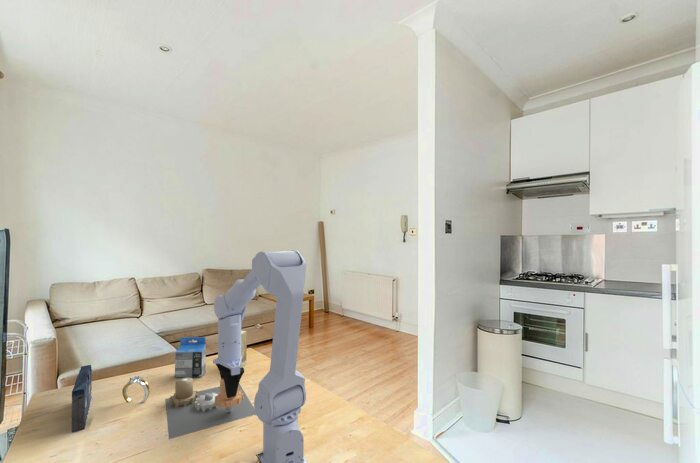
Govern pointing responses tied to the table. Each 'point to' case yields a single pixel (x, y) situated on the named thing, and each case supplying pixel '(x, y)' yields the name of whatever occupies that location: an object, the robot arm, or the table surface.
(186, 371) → the label tape box
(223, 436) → the table surface
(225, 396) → the planet gear
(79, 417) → the vhs cassette tape
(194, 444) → the table surface
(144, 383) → the ring
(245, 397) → the carrier board
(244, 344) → the skincare box
